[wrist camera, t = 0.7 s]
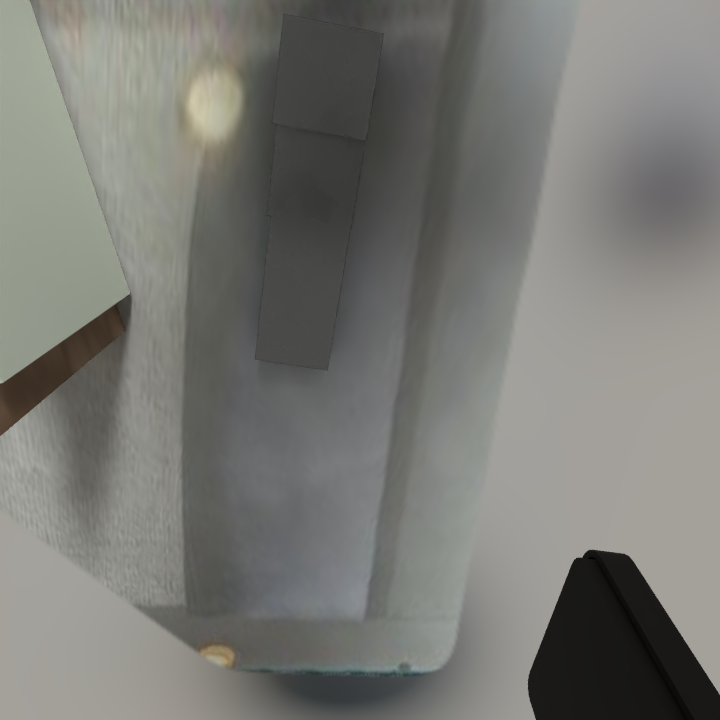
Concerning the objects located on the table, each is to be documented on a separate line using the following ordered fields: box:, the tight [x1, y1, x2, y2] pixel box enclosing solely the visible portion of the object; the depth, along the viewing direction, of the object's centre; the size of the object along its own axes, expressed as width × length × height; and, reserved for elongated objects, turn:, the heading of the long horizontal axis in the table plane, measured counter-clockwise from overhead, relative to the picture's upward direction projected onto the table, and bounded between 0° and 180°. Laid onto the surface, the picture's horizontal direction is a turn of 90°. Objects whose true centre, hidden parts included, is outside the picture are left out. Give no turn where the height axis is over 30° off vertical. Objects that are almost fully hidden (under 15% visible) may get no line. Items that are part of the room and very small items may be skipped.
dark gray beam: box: [255, 14, 384, 370], centre depth 27 cm, size 16×4×5 cm, turn 170°
